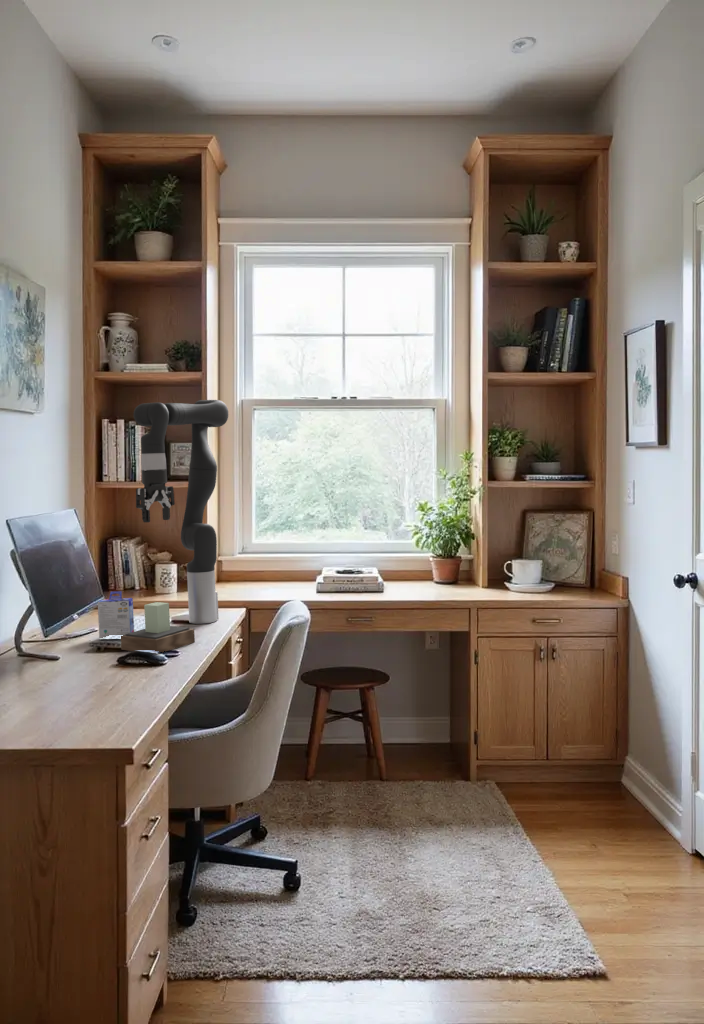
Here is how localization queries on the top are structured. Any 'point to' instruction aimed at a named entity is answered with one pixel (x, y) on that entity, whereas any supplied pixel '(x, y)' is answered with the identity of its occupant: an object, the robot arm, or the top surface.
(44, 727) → the top surface
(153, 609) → the sage block
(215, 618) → the robot arm
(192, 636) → the walnut base
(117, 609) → the ink cartridge box
